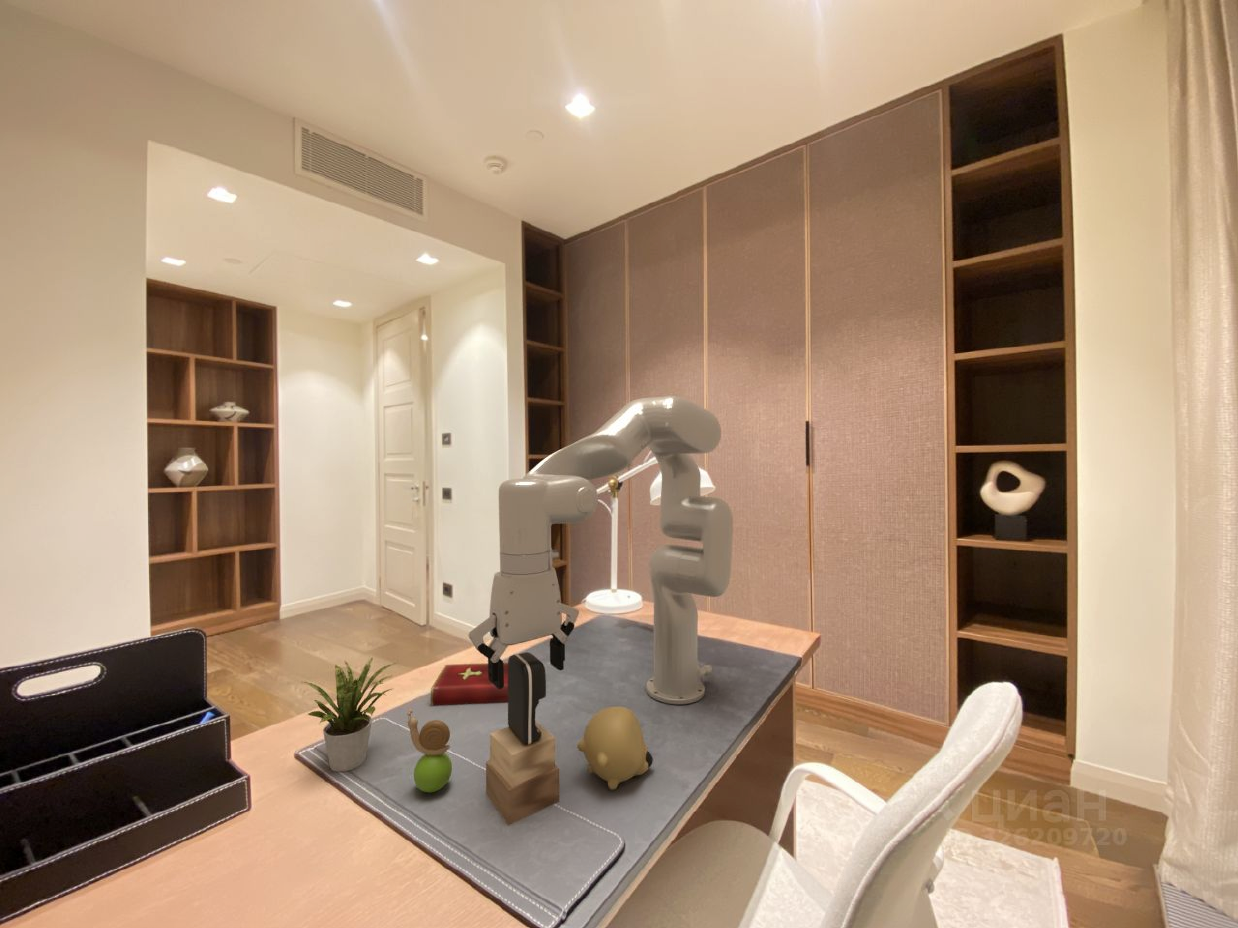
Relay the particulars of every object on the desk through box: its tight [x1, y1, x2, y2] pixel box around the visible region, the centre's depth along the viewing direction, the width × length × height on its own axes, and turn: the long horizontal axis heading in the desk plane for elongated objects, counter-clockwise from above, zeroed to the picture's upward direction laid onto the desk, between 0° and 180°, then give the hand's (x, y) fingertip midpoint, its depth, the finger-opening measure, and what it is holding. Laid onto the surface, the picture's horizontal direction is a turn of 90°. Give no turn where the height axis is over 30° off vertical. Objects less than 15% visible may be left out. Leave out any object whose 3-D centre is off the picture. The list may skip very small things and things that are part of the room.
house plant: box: [301, 657, 398, 772], centre depth 81 cm, size 14×14×16 cm
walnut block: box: [485, 759, 561, 826], centre depth 73 cm, size 8×8×5 cm
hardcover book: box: [430, 662, 508, 707], centre depth 107 cm, size 12×21×4 cm, turn 96°
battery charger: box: [507, 651, 547, 745], centre depth 74 cm, size 7×4×11 cm, turn 34°
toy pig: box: [576, 706, 654, 790], centre depth 78 cm, size 10×12×11 cm
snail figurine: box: [407, 709, 453, 793], centre depth 75 cm, size 5×6×12 cm
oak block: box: [489, 720, 556, 788], centre depth 73 cm, size 7×7×4 cm
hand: (528, 675), depth 74 cm, fingers open, 9 cm apart
